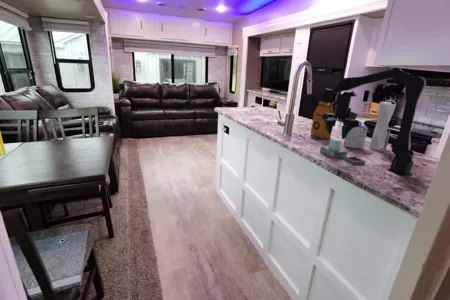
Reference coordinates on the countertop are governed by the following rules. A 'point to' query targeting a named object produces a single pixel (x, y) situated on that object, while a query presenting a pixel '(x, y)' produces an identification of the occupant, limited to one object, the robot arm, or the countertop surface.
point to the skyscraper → (382, 126)
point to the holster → (357, 162)
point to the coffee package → (321, 120)
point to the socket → (333, 152)
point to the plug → (334, 144)
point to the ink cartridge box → (356, 137)
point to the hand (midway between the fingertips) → (336, 136)
